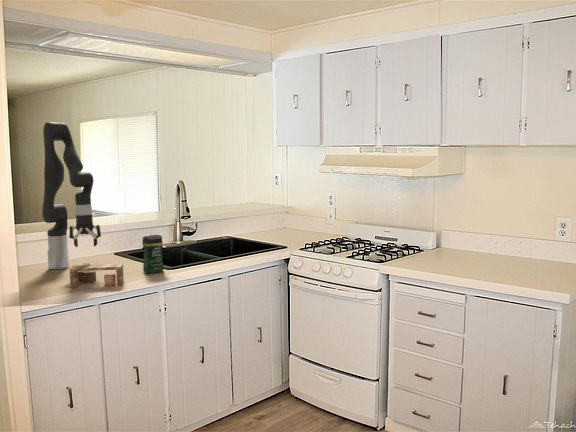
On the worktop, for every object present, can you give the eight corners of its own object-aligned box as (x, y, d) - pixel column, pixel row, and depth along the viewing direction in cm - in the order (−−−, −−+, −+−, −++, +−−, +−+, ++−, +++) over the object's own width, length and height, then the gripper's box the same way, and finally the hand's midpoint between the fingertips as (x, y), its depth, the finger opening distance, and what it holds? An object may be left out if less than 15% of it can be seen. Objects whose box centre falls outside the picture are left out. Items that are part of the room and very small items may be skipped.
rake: (78, 282, 255) (78, 272, 254) (84, 272, 274) (84, 263, 273) (95, 281, 256) (95, 271, 256) (100, 271, 276) (99, 262, 275)
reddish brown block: (103, 286, 248) (103, 276, 247) (105, 283, 253) (105, 273, 252) (115, 285, 249) (114, 275, 248) (116, 282, 253) (116, 273, 253)
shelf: (70, 288, 245) (69, 269, 244) (74, 284, 252) (73, 265, 250) (121, 285, 248) (120, 266, 247) (123, 281, 255) (122, 263, 254)
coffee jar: (148, 274, 268) (146, 237, 266) (141, 272, 274) (139, 235, 272) (166, 271, 274) (164, 235, 272) (158, 269, 280) (157, 233, 278)
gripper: (66, 215, 261) (69, 248, 263) (97, 214, 263) (99, 247, 265) (70, 213, 268) (72, 245, 270) (100, 212, 271) (102, 244, 273)
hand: (86, 246), depth 268 cm, fingers open, 8 cm apart
